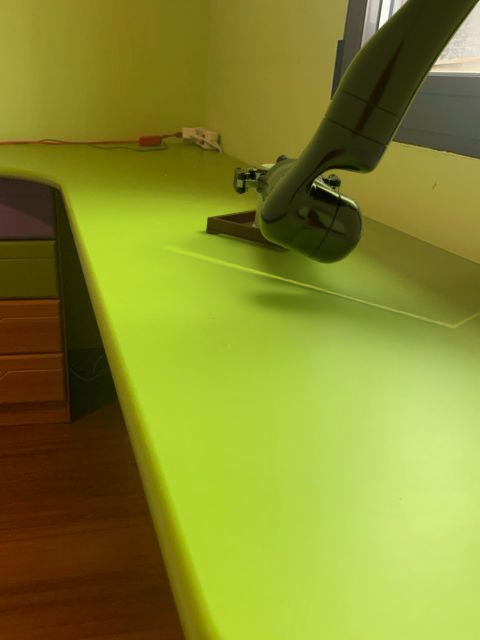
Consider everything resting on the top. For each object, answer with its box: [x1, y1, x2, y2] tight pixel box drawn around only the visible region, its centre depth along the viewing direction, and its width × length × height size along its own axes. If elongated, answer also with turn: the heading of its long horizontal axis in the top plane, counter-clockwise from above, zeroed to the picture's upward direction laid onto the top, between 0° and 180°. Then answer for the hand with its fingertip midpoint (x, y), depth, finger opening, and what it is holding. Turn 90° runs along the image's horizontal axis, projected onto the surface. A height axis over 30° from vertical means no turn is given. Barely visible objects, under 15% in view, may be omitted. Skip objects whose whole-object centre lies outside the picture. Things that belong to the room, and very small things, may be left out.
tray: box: [205, 209, 285, 249], centre depth 104 cm, size 16×14×2 cm
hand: (281, 175), depth 101 cm, fingers open, 8 cm apart
